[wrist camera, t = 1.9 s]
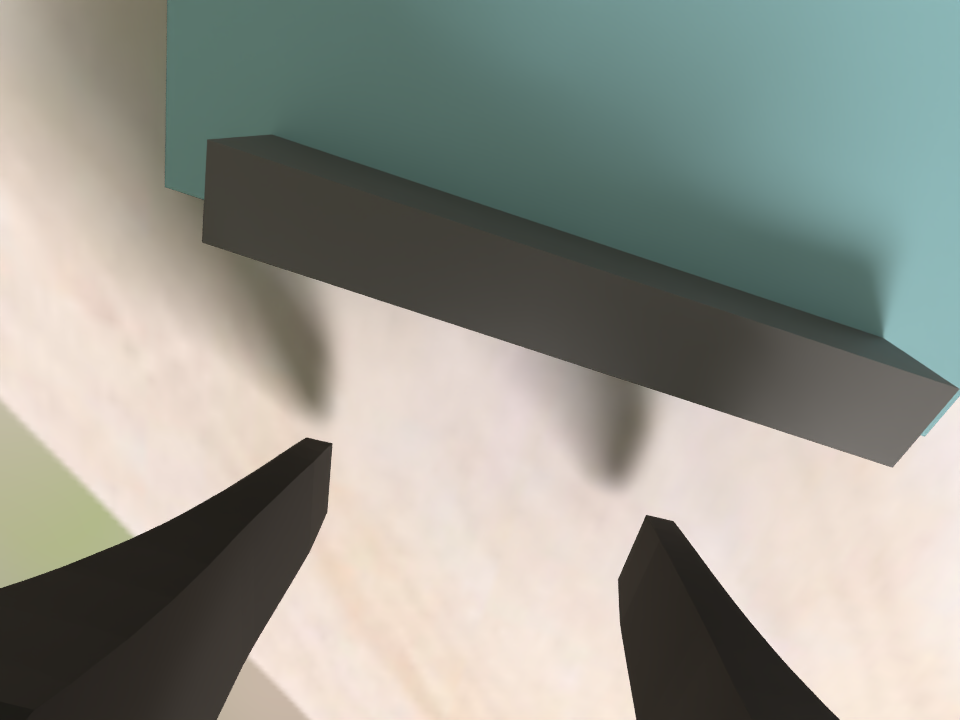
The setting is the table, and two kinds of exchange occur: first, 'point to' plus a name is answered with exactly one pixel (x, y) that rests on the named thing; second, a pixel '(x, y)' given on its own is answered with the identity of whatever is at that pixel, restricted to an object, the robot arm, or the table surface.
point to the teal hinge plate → (609, 184)
